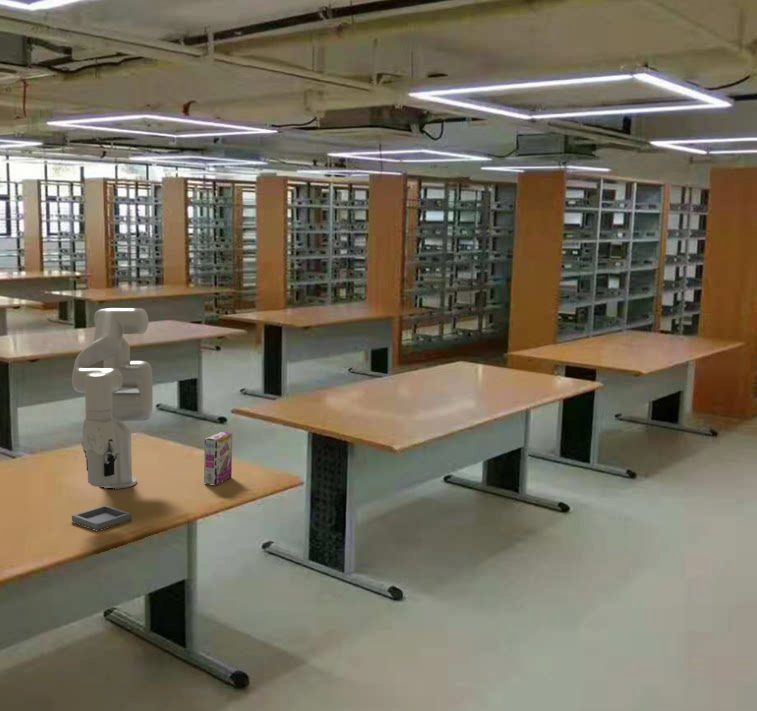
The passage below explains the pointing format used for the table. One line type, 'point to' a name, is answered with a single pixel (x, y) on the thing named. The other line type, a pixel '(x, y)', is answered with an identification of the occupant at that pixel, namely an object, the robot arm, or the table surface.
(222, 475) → the candy bar box
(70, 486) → the table surface
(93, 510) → the tray
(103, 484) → the can
